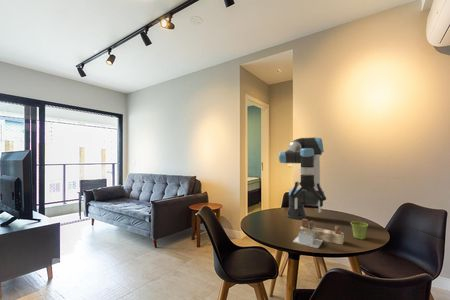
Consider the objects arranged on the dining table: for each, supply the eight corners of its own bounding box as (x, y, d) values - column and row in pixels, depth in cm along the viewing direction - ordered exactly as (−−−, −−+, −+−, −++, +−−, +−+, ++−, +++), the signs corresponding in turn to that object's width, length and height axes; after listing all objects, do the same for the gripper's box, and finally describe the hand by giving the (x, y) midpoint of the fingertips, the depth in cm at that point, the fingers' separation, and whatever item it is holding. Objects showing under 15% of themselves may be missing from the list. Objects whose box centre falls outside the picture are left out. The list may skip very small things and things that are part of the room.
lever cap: (303, 236, 135) (303, 227, 135) (316, 239, 130) (316, 230, 130) (298, 241, 128) (298, 231, 128) (312, 245, 123) (312, 234, 123)
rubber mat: (292, 242, 129) (292, 241, 129) (298, 236, 138) (298, 235, 138) (318, 248, 120) (318, 247, 120) (322, 241, 129) (322, 240, 129)
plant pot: (347, 235, 140) (347, 221, 140) (361, 234, 141) (361, 221, 141) (357, 241, 130) (357, 226, 131) (372, 240, 131) (372, 225, 131)
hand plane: (299, 235, 139) (299, 219, 139) (302, 232, 144) (302, 217, 144) (342, 244, 125) (342, 227, 125) (343, 241, 130) (343, 224, 130)
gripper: (284, 173, 134) (284, 208, 134) (328, 176, 119) (329, 215, 119) (288, 172, 140) (289, 206, 140) (331, 175, 125) (331, 212, 125)
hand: (307, 210), depth 129 cm, fingers open, 13 cm apart
